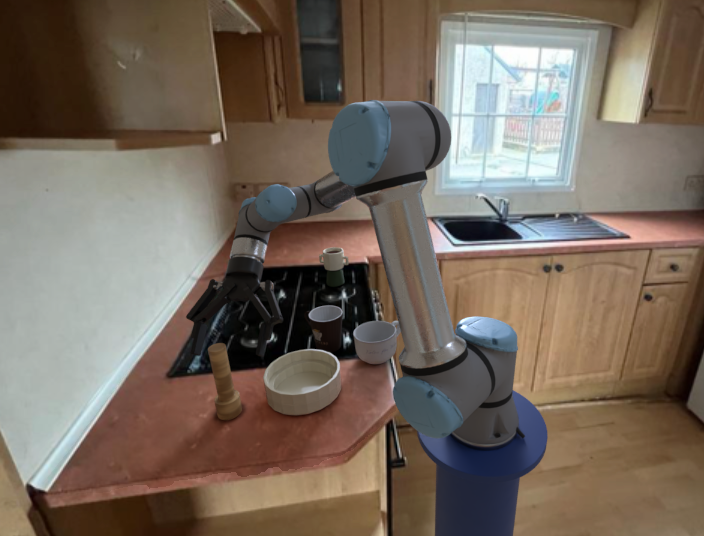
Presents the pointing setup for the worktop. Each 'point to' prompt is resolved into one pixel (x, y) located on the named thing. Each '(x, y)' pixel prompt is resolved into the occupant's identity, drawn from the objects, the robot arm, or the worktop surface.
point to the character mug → (334, 265)
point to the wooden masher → (224, 384)
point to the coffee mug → (326, 327)
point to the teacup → (376, 341)
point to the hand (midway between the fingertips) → (227, 355)
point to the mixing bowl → (302, 381)
